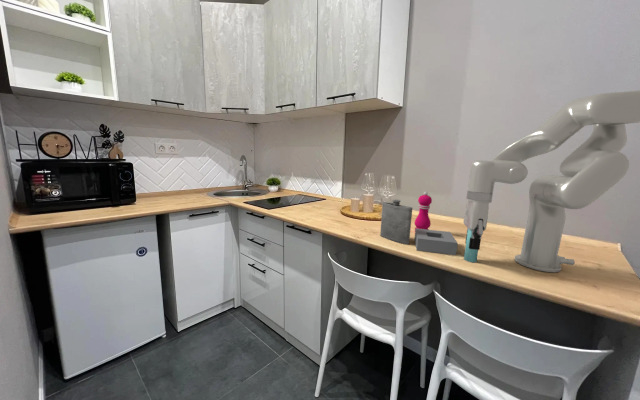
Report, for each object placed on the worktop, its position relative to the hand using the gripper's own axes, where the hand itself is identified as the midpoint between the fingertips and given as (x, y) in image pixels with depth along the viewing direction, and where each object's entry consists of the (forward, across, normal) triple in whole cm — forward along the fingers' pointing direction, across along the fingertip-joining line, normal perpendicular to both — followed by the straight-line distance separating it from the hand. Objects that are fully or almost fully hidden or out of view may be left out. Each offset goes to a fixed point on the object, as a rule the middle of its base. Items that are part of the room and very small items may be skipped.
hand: (472, 246), depth 91 cm
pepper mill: (+5, -29, -14) cm, 33 cm away
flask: (+5, -13, -27) cm, 30 cm away
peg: (+5, 0, 0) cm, 5 cm away
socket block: (+5, -10, -11) cm, 16 cm away
